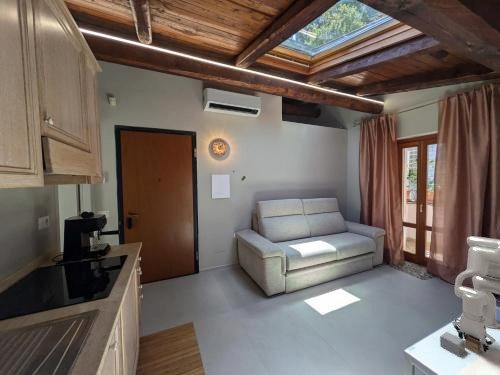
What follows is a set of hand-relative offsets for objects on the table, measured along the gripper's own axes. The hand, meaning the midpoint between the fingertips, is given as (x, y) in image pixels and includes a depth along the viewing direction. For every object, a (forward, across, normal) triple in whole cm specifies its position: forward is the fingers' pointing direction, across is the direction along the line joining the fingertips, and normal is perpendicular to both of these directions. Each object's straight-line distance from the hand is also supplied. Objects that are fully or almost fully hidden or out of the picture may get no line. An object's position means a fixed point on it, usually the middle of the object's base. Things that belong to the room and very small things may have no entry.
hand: (472, 344), depth 117 cm
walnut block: (+3, 0, 0) cm, 3 cm away
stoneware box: (+3, +6, +8) cm, 11 cm away
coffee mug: (+3, +4, -10) cm, 11 cm away
